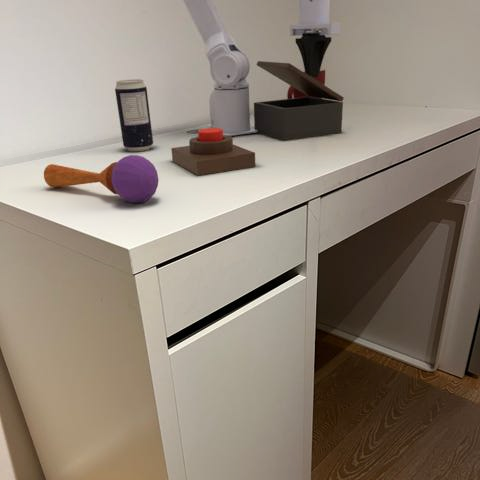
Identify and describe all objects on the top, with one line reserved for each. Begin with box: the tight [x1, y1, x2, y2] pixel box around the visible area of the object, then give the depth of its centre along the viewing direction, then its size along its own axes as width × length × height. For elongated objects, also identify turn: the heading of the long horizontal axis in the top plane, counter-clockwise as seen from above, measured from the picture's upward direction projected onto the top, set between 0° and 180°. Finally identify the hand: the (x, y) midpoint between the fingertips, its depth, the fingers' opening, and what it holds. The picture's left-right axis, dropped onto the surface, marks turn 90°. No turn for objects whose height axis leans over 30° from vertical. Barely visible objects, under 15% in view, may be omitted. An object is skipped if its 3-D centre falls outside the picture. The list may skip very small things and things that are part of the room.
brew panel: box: [170, 135, 256, 176], centre depth 84 cm, size 12×10×4 cm
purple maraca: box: [43, 154, 159, 204], centre depth 70 cm, size 6×6×20 cm
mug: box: [286, 68, 326, 99], centre depth 123 cm, size 11×8×10 cm
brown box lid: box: [256, 60, 345, 102], centre depth 102 cm, size 14×13×1 cm
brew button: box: [197, 127, 223, 142], centre depth 82 cm, size 4×4×2 cm
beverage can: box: [114, 78, 154, 152], centre depth 95 cm, size 6×6×12 cm
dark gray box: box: [253, 97, 344, 142], centre depth 105 cm, size 14×13×6 cm
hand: (312, 77), depth 101 cm, fingers closed
